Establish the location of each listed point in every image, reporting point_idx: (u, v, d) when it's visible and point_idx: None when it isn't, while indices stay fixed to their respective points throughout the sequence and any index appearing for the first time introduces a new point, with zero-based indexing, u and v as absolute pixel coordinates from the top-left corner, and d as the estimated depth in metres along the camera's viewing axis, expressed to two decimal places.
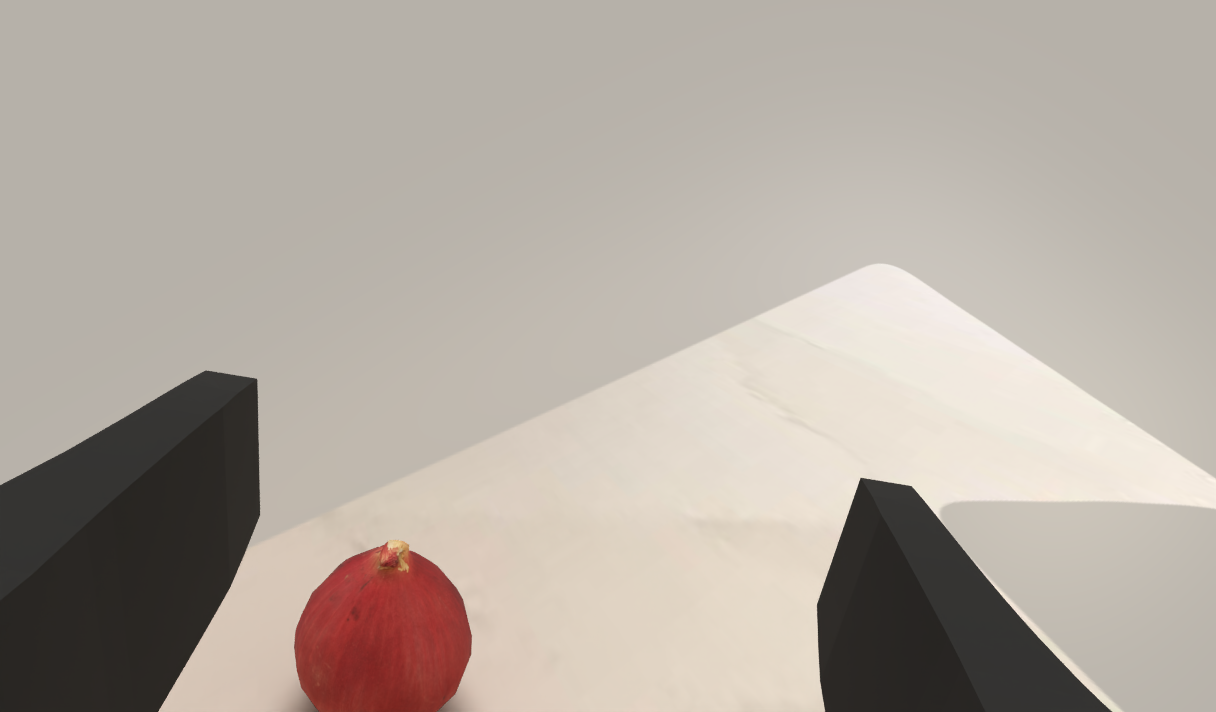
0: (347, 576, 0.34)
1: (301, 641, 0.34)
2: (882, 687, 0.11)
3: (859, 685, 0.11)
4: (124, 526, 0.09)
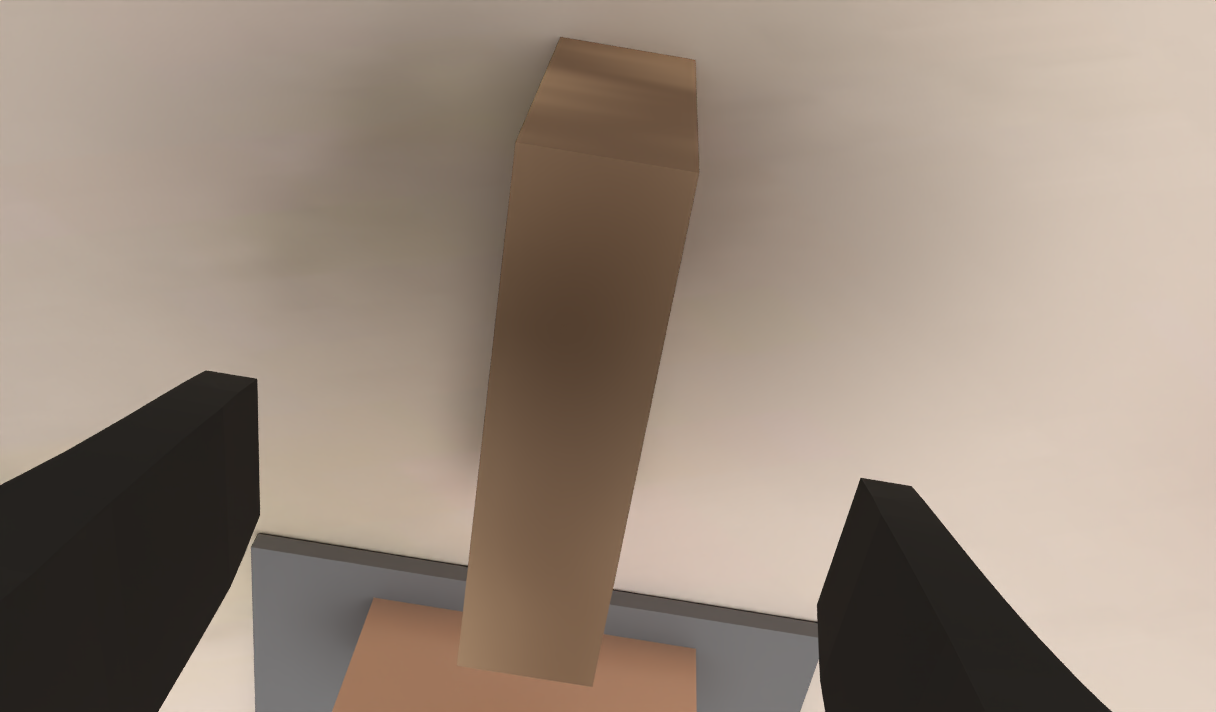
0: None
1: None
2: (882, 687, 0.11)
3: (859, 685, 0.11)
4: (124, 525, 0.09)
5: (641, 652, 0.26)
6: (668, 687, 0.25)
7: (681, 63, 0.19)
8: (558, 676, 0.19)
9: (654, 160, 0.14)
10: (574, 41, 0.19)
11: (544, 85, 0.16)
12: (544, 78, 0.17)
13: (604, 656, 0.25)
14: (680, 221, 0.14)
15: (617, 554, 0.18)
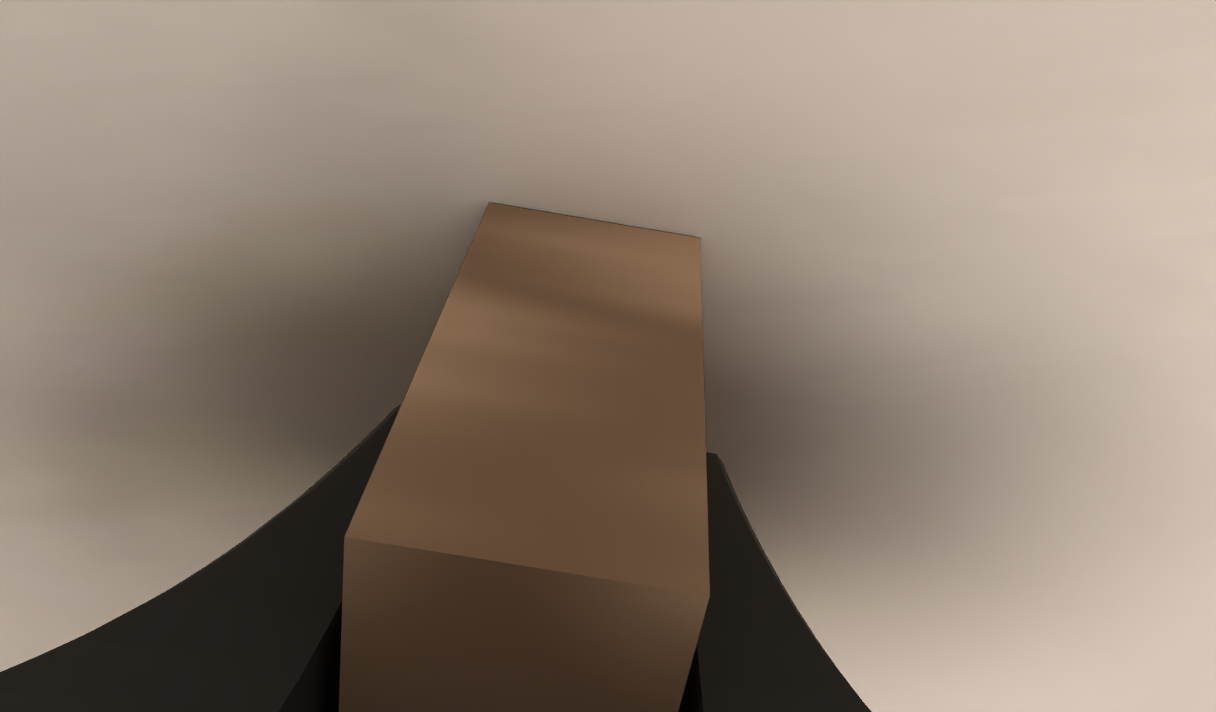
0: None
1: None
2: None
3: None
4: None
5: None
6: None
7: (678, 253, 0.12)
8: None
9: (620, 561, 0.07)
10: (509, 215, 0.12)
11: (438, 339, 0.09)
12: (442, 318, 0.10)
13: None
14: (673, 669, 0.07)
15: None
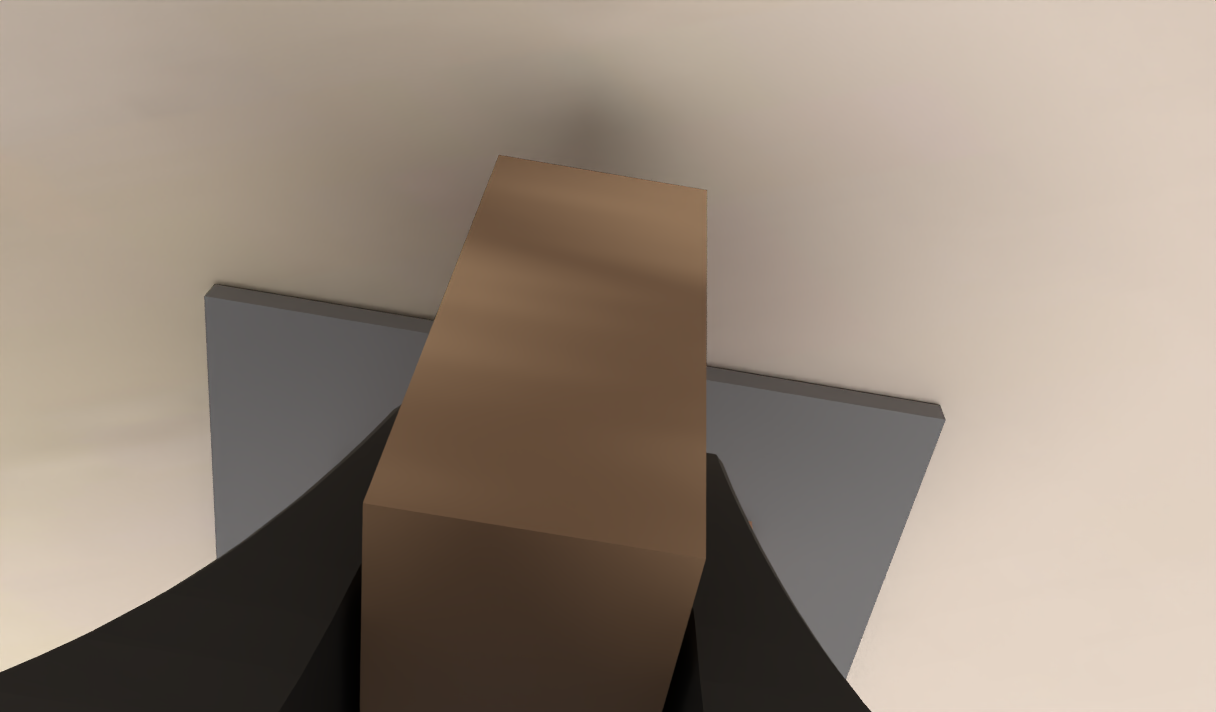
0: None
1: None
2: None
3: None
4: None
5: None
6: None
7: (684, 206, 0.12)
8: None
9: (622, 525, 0.08)
10: (518, 168, 0.12)
11: (449, 301, 0.10)
12: (453, 279, 0.10)
13: None
14: (671, 623, 0.08)
15: None
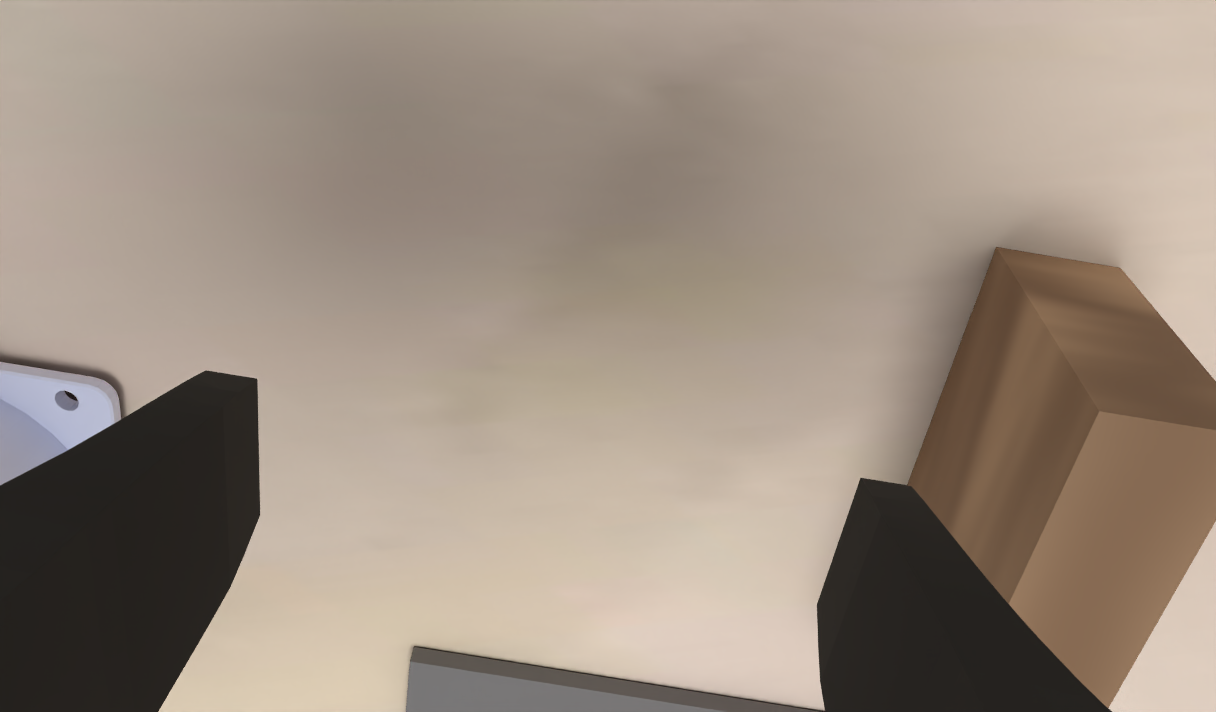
0: None
1: None
2: (882, 687, 0.11)
3: (859, 685, 0.11)
4: (124, 526, 0.09)
5: None
6: None
7: (1115, 274, 0.20)
8: None
9: None
10: (1012, 252, 0.21)
11: (1048, 323, 0.18)
12: (1038, 312, 0.18)
13: None
14: None
15: None
